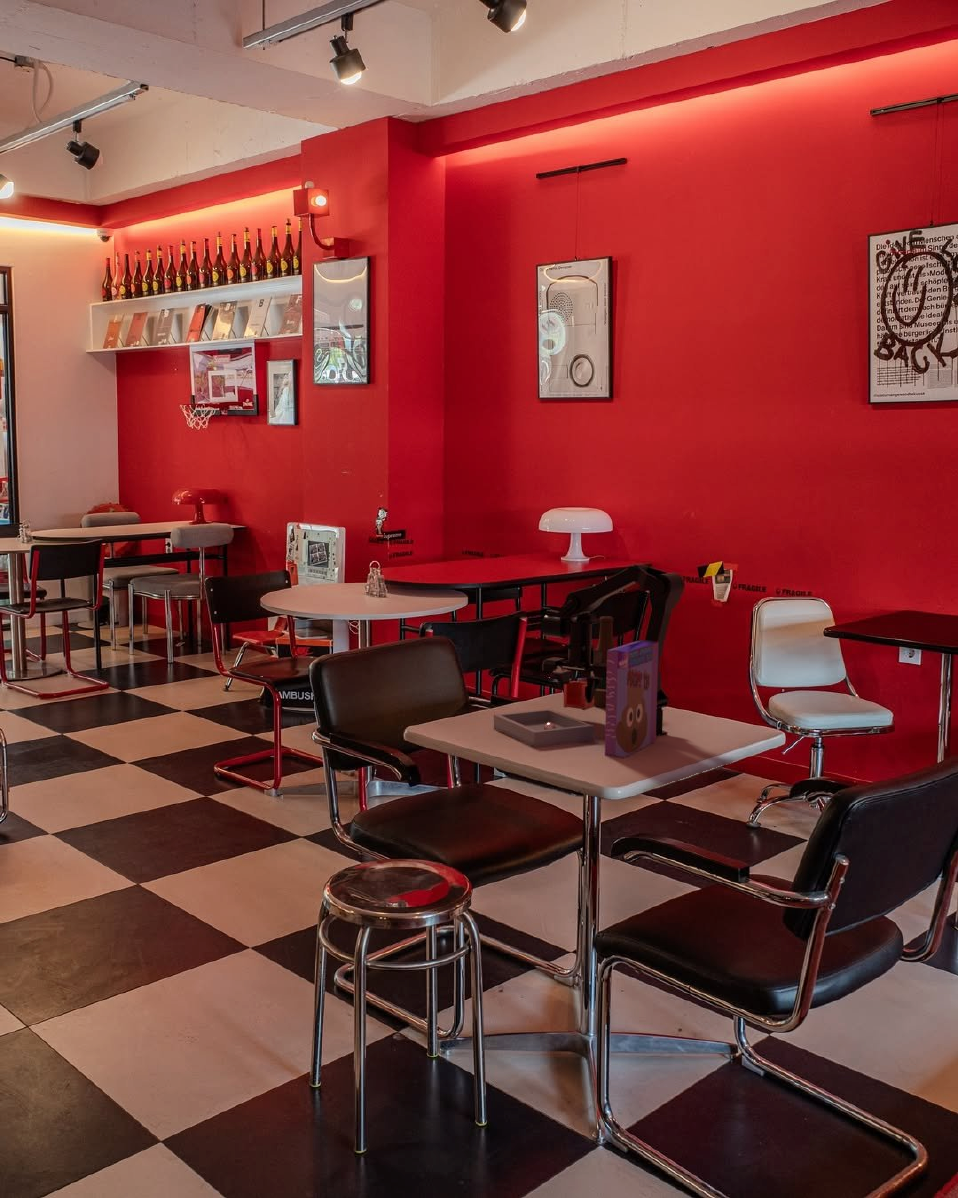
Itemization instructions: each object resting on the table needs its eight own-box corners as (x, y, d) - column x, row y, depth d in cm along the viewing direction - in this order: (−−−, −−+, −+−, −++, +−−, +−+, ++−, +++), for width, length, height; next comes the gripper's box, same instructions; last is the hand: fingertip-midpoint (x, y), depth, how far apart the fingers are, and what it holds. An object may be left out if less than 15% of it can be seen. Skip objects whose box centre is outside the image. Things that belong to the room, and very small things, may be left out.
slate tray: (593, 740, 265) (593, 725, 265) (534, 747, 258) (534, 732, 257) (550, 722, 283) (550, 708, 282) (493, 728, 276) (494, 714, 275)
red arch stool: (593, 706, 285) (594, 683, 284) (584, 710, 281) (585, 686, 280) (573, 703, 288) (573, 680, 288) (563, 707, 284) (563, 683, 284)
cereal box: (624, 758, 249) (626, 651, 246) (604, 755, 252) (607, 649, 249) (655, 742, 264) (658, 641, 261) (636, 739, 266) (639, 639, 263)
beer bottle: (618, 702, 308) (620, 615, 305) (619, 708, 300) (621, 619, 297) (589, 701, 308) (591, 614, 305) (589, 707, 301) (591, 618, 298)
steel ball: (550, 733, 264) (547, 721, 265) (543, 737, 266) (539, 725, 267) (560, 732, 265) (557, 720, 266) (553, 736, 268) (549, 724, 269)
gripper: (627, 639, 284) (626, 700, 286) (562, 633, 294) (561, 691, 296) (607, 645, 275) (606, 707, 277) (541, 638, 285) (540, 698, 287)
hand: (578, 701), depth 285 cm, fingers closed on red arch stool, 6 cm apart
